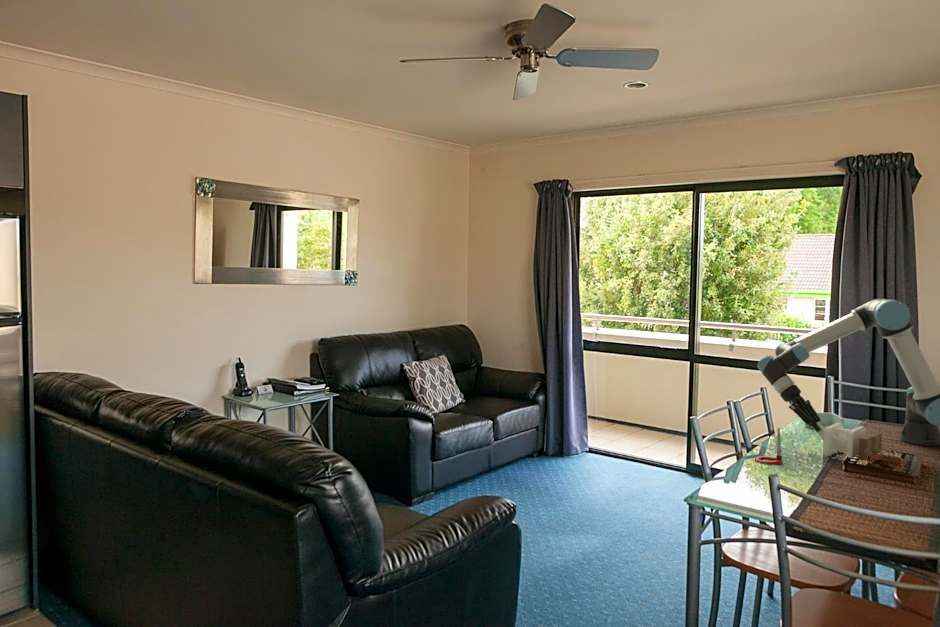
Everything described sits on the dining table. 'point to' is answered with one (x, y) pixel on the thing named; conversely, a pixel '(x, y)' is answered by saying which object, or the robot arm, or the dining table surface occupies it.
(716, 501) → the dining table surface
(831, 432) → the cable organizer
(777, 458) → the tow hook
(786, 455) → the dining table surface
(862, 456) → the keeper stop
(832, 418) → the l-shaped corner panel
